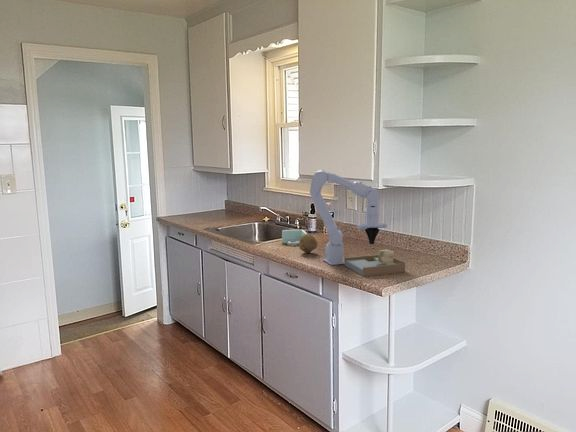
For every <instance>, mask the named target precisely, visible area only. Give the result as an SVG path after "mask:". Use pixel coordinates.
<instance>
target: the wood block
mask: <svg viewBox="0 0 576 432" xmlns="http://www.w3.org/2000/svg"><path fill="white" fill-rule="evenodd" d="M377 253H378V261H379V262H381V263H383V264H386V263H393V262H394V257H395V252H394V251H393V250H390V249H380V250H377Z"/></svg>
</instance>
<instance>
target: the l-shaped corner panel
mask: <svg viewBox="0 0 576 432" xmlns="http://www.w3.org/2000/svg"><path fill="white" fill-rule="evenodd" d="M305 234H308V233H307V232H306V230H304V229H283V230H281V243H282V244H287V246H289V247H296V246H297V247H298V246H299V244H300V240H301V237H302V236H303V235H305Z"/></svg>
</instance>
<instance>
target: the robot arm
mask: <svg viewBox="0 0 576 432" xmlns="http://www.w3.org/2000/svg"><path fill="white" fill-rule="evenodd" d="M310 181H311V183H310V188H309V195H310V197H311V200H312V201H313V203H314V205H315V208H316V209H317V212H318V213H319V215H320V218H321V220H322V222H323V225H324V226H325V229H326V232H327V234H328V240H329V241H328V242H327V244H326V245H325V247H324V250H325V253H324V254H325V255H324V259H323V261H324V262H325V263H327V264H328V265H330V266H334V265H335V266H336V265H344V261H345V260H344V242H343V239H344V238H343V232H342V230H341V229H340V228H339V227H338V225H337V224H336V222H335V220H334V218H333V216H332V213H331V211H330V209H329V208H328V205H327V204H326V201H325V199H324V196H323V195H322V193H321V192H322V189H323V187H324V185H325V184H326V183H327V184H332V183H335V184H337V185H340V186H342V187H345V188H347V189H349V190H350V192H351V194H354V195H356V196H358V197H360V198H362V199H366V209H365V213H366V214H365V223H362V224H356V230H359V231H360V230H364V231H365V234H366V236H367V238H368V244H369V245H374V244H375V242H376V238H377V236H378V234H379V232H380V229H387V228H388V224H387V223H385V222H381V223H380V220H379V218H380V217H379V215H380V212H379V210H380V205H379V204H380V201H379V200H380V198H381V196H380V195H381V194H380V192H379V191H378V190H377V189H376V188H375V187H372V186H371V185H369V186H368V185H366V184H363V182H362V181H358V180H357V181H354V182H352V181H350V180H348V179H346V178H344V177H342V176H340V175H337V174H336V173H332V172H329V171H325V170H323V169H319V170H317V171H315V173H314V174H313V177H312V178H311V180H310Z"/></svg>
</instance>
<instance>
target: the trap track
mask: <svg viewBox="0 0 576 432" xmlns="http://www.w3.org/2000/svg"><path fill="white" fill-rule="evenodd" d="M343 261H344V264H343V265H344V266H345V267H346V268H348V269H350V270H352V271H354V272H355V273H358V274H359V275H360V276H363V277H371V276H377V275H378V276H379V275H380V276H381V275H388V274H389V275H390V274H397V273H405V272H406V261H404V260H401V259H399V258H397V257H395V256H394V262H393V263H386V264H383V263H381V262H379V261H378V254H369V255H368V254H367V255H354V256H345V257H344V260H343Z"/></svg>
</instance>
